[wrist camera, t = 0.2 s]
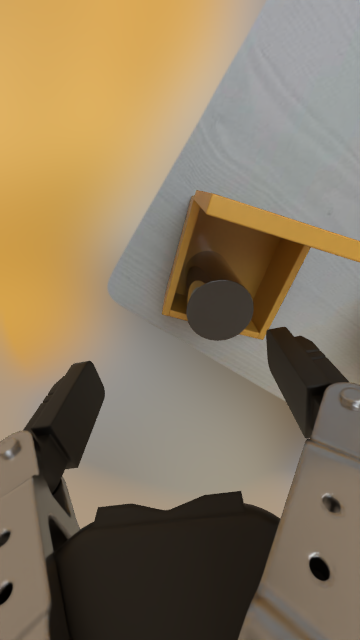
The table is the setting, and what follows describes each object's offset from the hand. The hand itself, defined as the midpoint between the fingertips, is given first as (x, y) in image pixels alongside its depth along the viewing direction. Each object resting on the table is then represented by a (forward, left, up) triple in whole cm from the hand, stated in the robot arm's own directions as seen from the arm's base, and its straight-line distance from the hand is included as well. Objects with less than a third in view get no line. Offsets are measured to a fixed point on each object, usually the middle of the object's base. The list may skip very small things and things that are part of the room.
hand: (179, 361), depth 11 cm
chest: (-1, +6, -23) cm, 23 cm away
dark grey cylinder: (+1, +4, -22) cm, 22 cm away
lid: (-6, +6, -9) cm, 12 cm away
